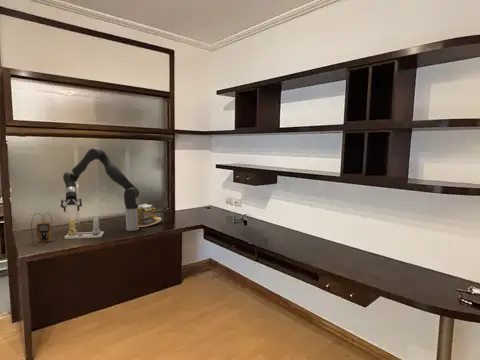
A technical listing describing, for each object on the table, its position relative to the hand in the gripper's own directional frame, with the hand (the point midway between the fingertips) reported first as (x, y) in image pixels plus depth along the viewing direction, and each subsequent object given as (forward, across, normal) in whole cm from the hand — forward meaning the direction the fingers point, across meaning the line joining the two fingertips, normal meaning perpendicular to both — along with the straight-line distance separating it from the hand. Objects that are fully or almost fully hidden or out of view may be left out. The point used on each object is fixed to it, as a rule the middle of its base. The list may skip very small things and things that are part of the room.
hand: (71, 211), depth 244 cm
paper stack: (+9, +56, +14) cm, 58 cm away
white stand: (+21, +8, +2) cm, 23 cm away
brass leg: (+19, 0, +1) cm, 19 cm away
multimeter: (+26, -17, -2) cm, 31 cm away
